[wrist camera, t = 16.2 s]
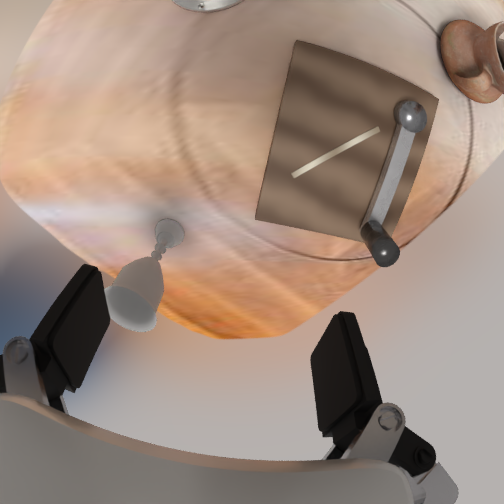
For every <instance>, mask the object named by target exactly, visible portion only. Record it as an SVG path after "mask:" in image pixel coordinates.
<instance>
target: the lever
mask: <svg viewBox="0 0 504 504" xmlns="http://www.w3.org/2000/svg"><path fill="white" fill-rule="evenodd" d="M394 117H395V121H396V123H397V126H396V130H395V133H394V136H393V139H392V143H391V146H390V149H389V152H388V155H387V158H386V161H385V164H384V167H383V170H382V173H381V176H380V178H379V181H378V184H377V187H376V189H375V192H374V195H373V197H372V200H371V203H370V205H369V208H368V210H367V213H366V215H365V218H364V220H363V223H362V225H361V228H360V230H359V231H360V235H361V238H362V239H363V241H364V243H365V244H366V246H367V248H368V249H369V251H370V253H371V254H372V256H373V258H374V260H375V261H376V263H377V264H378V265H379V266H381V267H388V266H391V265H393V264H394V263H395V262H396V261H397V259H398V258H399V255H400V250H399V247H398V246H397V245H396V243H395V242H394V241H393V239H392V238H391V237H390V235H389V234H388V233H387V231H386V230H385V229H384V228H383V226H382V223H383V221H384V218H385V216H386V214H387V211H388V209H389V206H390V204H391V201H392V199H393V196H394V194H395V191H396V189H397V186H398V183H399V181H400V178H401V175H402V172H403V170H404V167H405V164H406V161H407V158H408V155H409V152H410V149H411V146H412V143H413V140H414V136H415V133H418V132H420V131H422V130H423V129H424V128H425V126H426V123H427V114H426V111H425V109H424V108H423V106H422V105H421V104H419V103H418V102H415V101H407V100H404V101H401V102H399V103H398V104H397V105H396V107H395V110H394Z"/></svg>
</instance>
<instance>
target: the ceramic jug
mask: <svg viewBox="0 0 504 504" xmlns="http://www.w3.org/2000/svg"><path fill="white" fill-rule="evenodd" d="M503 32H504V22H499V23H496V24H494V25H492V26H491V27H489V28H488V29H487V30H486V31H484V30H483V29H482V28H481V27H479V26H478V25H476V24H474V23H472V22H469V21H466V20H455V21H452V22H450V23H449V24H448V25H447V26H446V27H445V28H444V30H443V32H442V36H441V43H440V47H441V54H442V59H443V62H444V65H445V68H446V70H447V72H448V75H449V76H450V78H451V80H452V82H453V83H454V84H455V85H456V86H457V88H458V89H459V90H460V91H461V92H462V93H463V94H464V95H466V96H467V97H469V98H470V99H472V100H474V101H476V102H479V103H491V102H494V101H495V100H497V99H498V98H499V97H500V96H501V95H502V94H504V40H503V39H499V36H500V35H501V34H502V33H503Z"/></svg>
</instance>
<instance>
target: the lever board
mask: <svg viewBox="0 0 504 504" xmlns="http://www.w3.org/2000/svg"><path fill="white" fill-rule="evenodd" d="M404 100H407V101H415V102H418V103H419V104H421V105H422V106H423V108H424V109H425V111H426V114H427V123H426V126H425V128H424V129H423V130H422V131H420V132H418V133H415V136H414V140H413V143H412V146H411V149H410V152H409V155H408V158H407V161H406V164H405V167H404V170H403V172H402V175H401V178H400V181H399V183H398V186H397V189H396V191H395V194H394V196H393V199H392V201H391V204H390V206H389V209H388V211H387V214H386V216H385V218H384V221H383V223H382V226H383V228H384V229H385V230H386V231H387V233H388V234H389V235H390V237H391V236H392V234H393V232H394V230H395V227H396V225H397V223H398V221H399V218H400V216H401V213H402V211H403V209H404V206H405V204H406V201H407V199H408V196H409V194H410V191H411V188H412V186H413V183H414V180H415V178H416V175H417V172H418V169H419V166H420V163H421V160H422V157H423V154H424V151H425V148H426V145H427V142H428V138H429V135H430V132H431V128H432V125H433V121H434V117H435V113H436V109H437V105H438V101H439V99H438V98H436V97H434V96H433V95H431V94H429V93H428V92H426V91H424V90H422V89H421V88H419V87H417V86H415V85H413V84H411V83H409V82H407V81H405V80H403V79H401V78H399V77H397V76H395V75H393V74H391V73H389V72H387V71H385V70H382V69H380V68H378V67H375V66H373V65H371V64H368V63H366V62H363V61H361V60H358V59H356V58H353V57H350V56H347V55H345V54H342V53H339V52H336V51H333V50H330V49H327V48H323V47H320V46H317V45H313V44H310V43H306V42H302V41H298V40H297V41H296V42H295V45H294V49H293V54H292V58H291V62H290V66H289V71H288V75H287V79H286V83H285V88H284V92H283V96H282V100H281V105H280V109H279V113H278V118H277V122H276V126H275V131H274V135H273V139H272V144H271V148H270V152H269V157H268V161H267V165H266V170H265V174H264V179H263V183H262V187H261V192H260V196H259V201H258V205H257V209H256V214H255V220H260V221H265V222H270V223H275V224H280V225H285V226H290V227H295V228H299V229H304V230H309V231H314V232H318V233H323V234H328V235H332V236H337V237H341V238H346V239H350V240H355V241H359V242H363V243H364V241H363V239H362V238H361V235H360V231H359V230H360V228H361V225H362V223H363V220H364V218H365V215H366V213H367V210H368V208H369V205H370V203H371V200H372V197H373V195H374V192H375V189H376V187H377V184H378V181H379V178H380V176H381V173H382V170H383V167H384V164H385V161H386V158H387V155H388V152H389V149H390V146H391V143H392V139H393V136H394V133H395V130H396V126H397V123H396V121H395V117H394V110H395V107H396V105H397V104H398V103H399V102H401V101H404Z"/></svg>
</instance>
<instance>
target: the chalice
mask: <svg viewBox="0 0 504 504" xmlns="http://www.w3.org/2000/svg"><path fill="white" fill-rule="evenodd" d="M155 235H156V241H157V242H158V244H156V245H155V250H156V251H153V252H152V253H151V256H152V257H144V258H141V259H137V260H135V261H133V262H131V263H129V264H128V265H126V266H124V267H123V268H122V270H121V271H120V273H119V274H118V276H117V277H116V279H115V281H114V282H113V284H112V285H111V286H109V287H107V288H105V289H104V291H105V296H106V301H107V305H108V310H109V314H110V318H112V319H113V320H114V321H115V322H116V323H118V324H119V325H121V326H123V327H125V328H127V329H129V330H133V331H137V332H146V331H149V330H152V329H153V328H154V327H155V326H156V321H157V319H156V311H157V308H158V306H159V303H160V301H161V298H162V296H163V292H164V284H163V275H162V270H161V266H160V264H159V262H158V260H161V258H162V255H161V254H163V253H165V252H166V248H172V247H175V246H177V245H179V244H180V243H181V242H182V241H183V239H184V231H183V228H182V227H181V225H180V224H179V223H178V222H176V221H174V220H172V219H164V220H161V221H160V222H158V224H157V225H156V228H155Z"/></svg>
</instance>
